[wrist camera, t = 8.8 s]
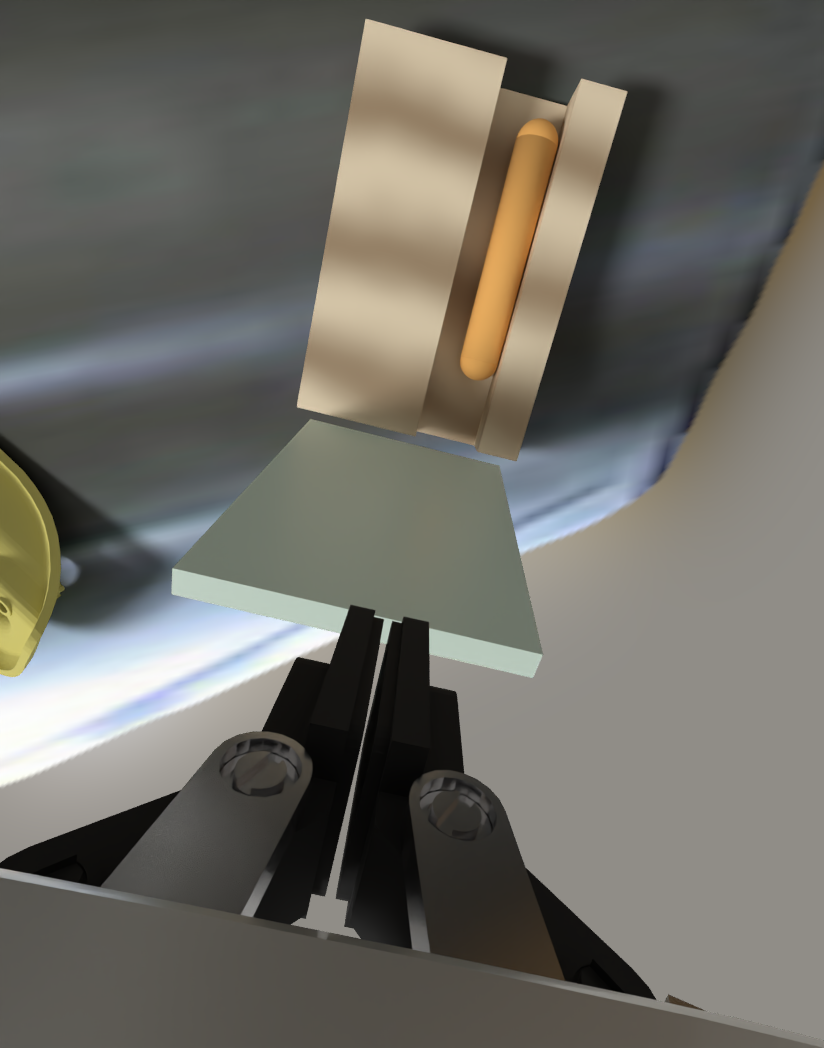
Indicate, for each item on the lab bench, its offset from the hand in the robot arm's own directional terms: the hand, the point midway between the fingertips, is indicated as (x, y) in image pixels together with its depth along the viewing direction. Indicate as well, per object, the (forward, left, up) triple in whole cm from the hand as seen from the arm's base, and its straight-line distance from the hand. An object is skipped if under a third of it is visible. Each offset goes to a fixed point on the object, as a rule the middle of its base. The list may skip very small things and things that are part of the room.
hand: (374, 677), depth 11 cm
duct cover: (0, -1, -15) cm, 15 cm away
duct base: (-12, -1, -27) cm, 30 cm away
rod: (-13, +3, -27) cm, 30 cm away
